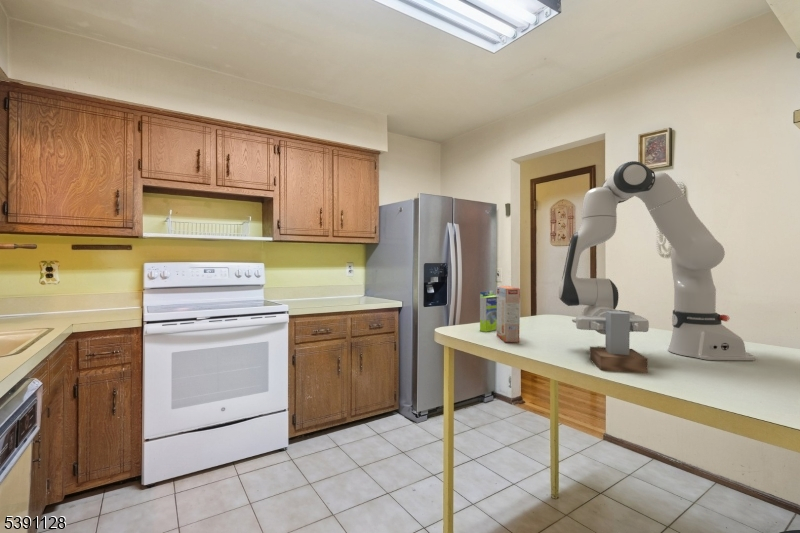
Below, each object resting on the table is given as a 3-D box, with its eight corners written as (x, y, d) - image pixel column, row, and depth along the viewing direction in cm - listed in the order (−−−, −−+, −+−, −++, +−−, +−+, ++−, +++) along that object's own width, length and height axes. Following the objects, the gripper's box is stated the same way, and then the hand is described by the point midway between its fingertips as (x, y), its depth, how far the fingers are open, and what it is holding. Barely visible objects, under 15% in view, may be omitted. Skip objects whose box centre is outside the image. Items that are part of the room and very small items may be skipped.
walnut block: (631, 361, 119) (631, 348, 119) (647, 372, 107) (647, 358, 107) (589, 359, 122) (590, 346, 122) (600, 370, 110) (600, 356, 110)
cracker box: (520, 343, 145) (520, 288, 145) (504, 343, 145) (504, 288, 145) (510, 335, 159) (510, 285, 159) (496, 335, 159) (496, 285, 159)
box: (486, 332, 166) (486, 292, 166) (478, 330, 170) (478, 292, 169) (500, 329, 174) (500, 291, 173) (492, 328, 177) (492, 290, 176)
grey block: (623, 350, 116) (623, 311, 116) (629, 354, 111) (629, 313, 111) (605, 350, 117) (605, 311, 117) (610, 354, 112) (610, 313, 112)
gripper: (570, 310, 129) (580, 316, 116) (638, 311, 124) (656, 318, 111) (570, 328, 129) (580, 337, 116) (638, 331, 125) (656, 340, 111)
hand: (618, 328), depth 113 cm, fingers open, 8 cm apart
